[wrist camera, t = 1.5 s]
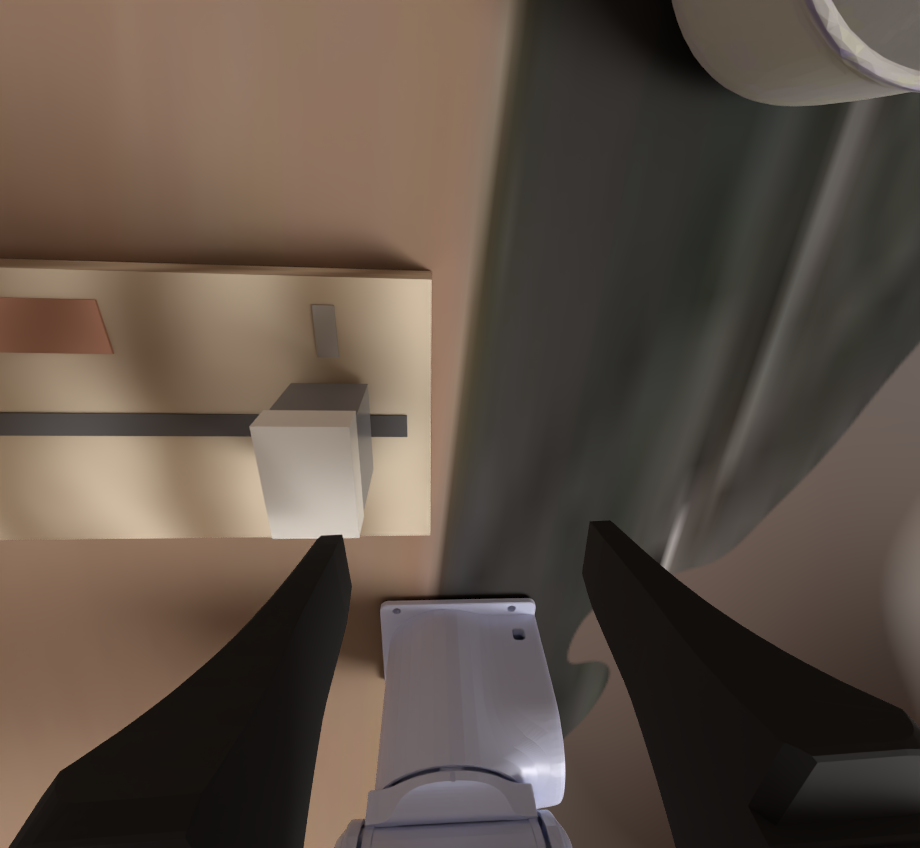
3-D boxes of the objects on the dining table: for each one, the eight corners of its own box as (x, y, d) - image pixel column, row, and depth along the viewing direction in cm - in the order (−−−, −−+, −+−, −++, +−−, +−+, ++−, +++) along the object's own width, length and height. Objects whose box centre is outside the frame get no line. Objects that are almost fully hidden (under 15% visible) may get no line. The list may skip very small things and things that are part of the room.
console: (431, 270, 18) (431, 280, 16) (430, 504, 23) (430, 536, 21) (-85, 256, 17) (-169, 263, 14) (38, 506, 22) (-8, 541, 20)
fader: (367, 379, 17) (349, 426, 13) (373, 473, 19) (359, 538, 15) (290, 378, 17) (249, 426, 13) (304, 473, 19) (272, 538, 15)
